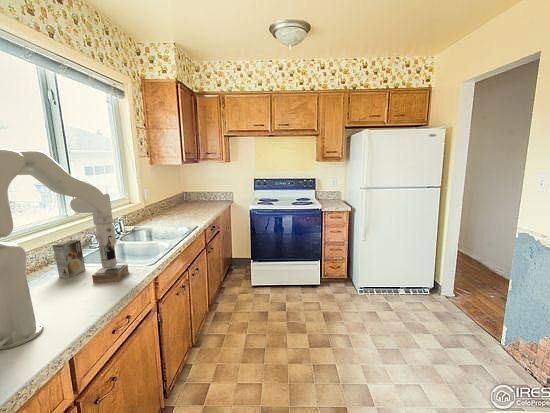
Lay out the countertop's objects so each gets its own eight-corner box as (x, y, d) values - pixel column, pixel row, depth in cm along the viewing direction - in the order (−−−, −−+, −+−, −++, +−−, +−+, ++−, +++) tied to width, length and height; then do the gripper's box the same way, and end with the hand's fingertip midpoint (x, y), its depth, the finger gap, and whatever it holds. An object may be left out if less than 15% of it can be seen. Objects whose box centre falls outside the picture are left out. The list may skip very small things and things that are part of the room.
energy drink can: (99, 268, 128) (94, 237, 125) (109, 263, 134) (105, 233, 131) (110, 269, 127) (105, 237, 124) (120, 264, 133) (115, 234, 130)
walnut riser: (118, 282, 127) (117, 273, 126) (93, 283, 126) (91, 274, 125) (128, 271, 138) (127, 263, 137) (105, 273, 136) (103, 265, 136)
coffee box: (75, 269, 142) (70, 239, 139) (85, 270, 141) (80, 240, 138) (58, 277, 133) (52, 245, 130) (69, 278, 132) (63, 246, 129)
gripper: (120, 220, 124) (124, 259, 127) (104, 216, 134) (109, 251, 138) (101, 224, 118) (107, 264, 121) (87, 219, 129) (92, 255, 132)
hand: (108, 257), depth 129 cm, fingers closed on energy drink can, 6 cm apart
